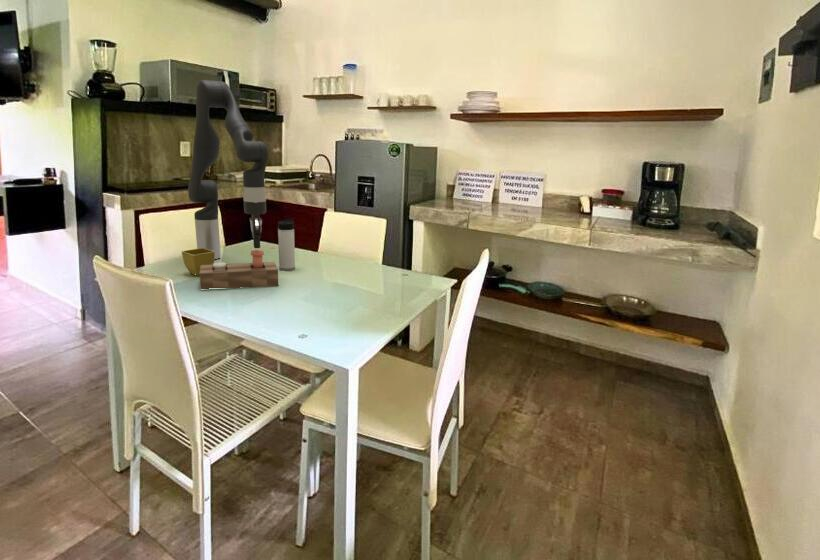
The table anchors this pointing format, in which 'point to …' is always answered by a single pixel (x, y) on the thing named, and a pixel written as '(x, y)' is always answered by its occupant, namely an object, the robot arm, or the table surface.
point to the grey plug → (219, 265)
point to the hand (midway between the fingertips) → (257, 247)
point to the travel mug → (286, 245)
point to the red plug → (257, 258)
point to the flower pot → (197, 259)
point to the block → (239, 276)
